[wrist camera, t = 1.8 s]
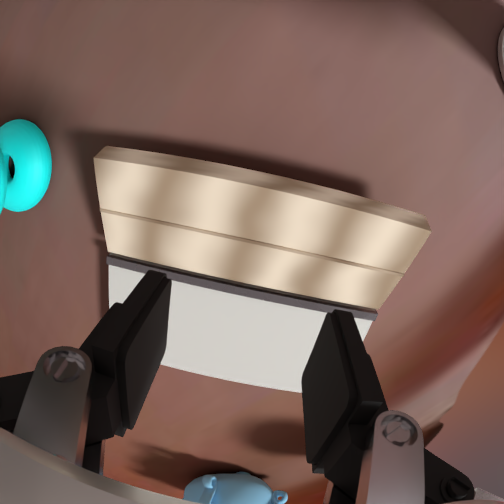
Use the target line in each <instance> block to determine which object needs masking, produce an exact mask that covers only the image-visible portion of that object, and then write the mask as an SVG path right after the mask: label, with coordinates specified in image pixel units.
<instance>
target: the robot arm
mask: <svg viewBox="0 0 504 504" xmlns="http://www.w3.org/2000/svg"><path fill="white" fill-rule="evenodd" d="M498 60H499V66H500V71H501V75H502V78H503V81H504V28H503V29H502V31H501V33H500V36H499V41H498ZM171 287H172V280H171V279H168V278H167V274H166V273H162V272H158V271H154V270H148V271H147V273H146V274H145V275H144V276H143V278H142V279H141V280H140V281H139V283H138V284H137V285H136V287H135V288H134V289H133V290H132V292H131V293H130V294H129V296H128V297H127V298H126V300H125V301H124V302H123V304H122V303H119V302H116V303H114V304H113V305H112V306H111V308H110V309H109V310H108V311H107V313H106V314H105V315H104V316H103V318H102V319H101V320H100V322H99V323H98V324H97V325H96V327H95V328H94V329H93V331H92V332H91V333H90V335H89V336H88V337H87V339H86V340H85V341H84V343H83V344H82V345H81V347H80V348H79V349H77V348H74V347H68V346H61V347H55V348H52V349H50V350H48V351H46V352H45V353H44V354H43V355H42V356H41V357H40V359H39V360H38V363H37V365H36V368H35V370H34V371H32V372H27V373H22V374H17V375H12V376H6V377H1V378H0V504H201V503H196V502H191V501H187V500H182V499H178V498H174V497H170V496H166V495H162V494H158V493H155V492H151V491H147V490H144V489H141V488H137V487H134V486H131V485H128V484H125V483H122V482H119V481H116V480H113V479H110V478H107V477H105V476H103V466H104V453H105V441H106V440H105V439H108V438H111V437H114V434H115V435H118V436H121V437H123V436H124V434H125V431H126V429H127V428H128V429H131V430H132V429H133V427H134V425H135V423H136V420H137V418H138V416H139V413H140V411H141V408H142V406H143V403H144V401H145V399H146V396H147V394H148V391H149V389H150V387H151V384H152V382H153V380H154V377H155V375H156V373H157V370H158V368H159V366H160V363H161V361H162V359H163V356H164V354H165V351H166V345H167V332H168V320H169V308H170V297H171ZM301 385H302V398H303V412H304V426H305V442H306V459H307V463H311V464H312V471H313V473H320V474H324V475H325V477H326V478H327V479H329V482H328V485H327V490H326V494H325V498H324V502H323V504H504V499H502V498H499V497H497V496H495V495H493V494H491V493H488V492H486V491H484V490H481V489H479V488H476V489H475V490H474V487H473V485H472V482H471V481H470V480H469V478H468V477H467V476H466V475H464V474H463V473H462V472H460V471H458V470H457V469H455V468H454V467H452V466H451V465H449V464H448V463H446V462H445V461H443V460H441V459H440V458H438V457H437V456H435V455H434V454H432V453H431V452H429V451H428V450H426V449H425V448H423V434H422V430H421V428H420V426H419V424H418V423H417V422H416V421H415V420H414V419H413V418H412V417H411V416H409V415H408V414H406V413H403V412H400V411H395V410H390V411H388V408H387V405H386V401H385V398H384V395H383V392H382V389H381V386H380V383H379V380H378V377H377V374H376V371H375V369H374V366H373V363H372V360H371V357H370V356H369V355H368V354H367V353H366V350H365V347H364V344H363V341H362V338H361V336H360V333H359V330H358V327H357V325H356V322H355V319H354V316H353V314H352V312H349V311H343V310H338V309H334V310H333V312H332V313H330V312H328V313H327V314H326V316H325V319H324V321H323V324H322V327H321V329H320V332H319V334H318V337H317V339H316V342H315V344H314V347H313V349H312V352H311V354H310V357H309V359H308V362H307V364H306V367H305V369H304V371H303V374H302V380H301Z"/></svg>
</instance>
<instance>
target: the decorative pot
mask: <svg viewBox="0 0 504 504" xmlns="http://www.w3.org/2000/svg"><path fill="white" fill-rule="evenodd" d="M279 496H282V497H283V498H282V499H281V500H278V499H277V498H278V497H279ZM287 499H288V496H287V493H286V492H284V491H281V490H276V491H274V492H273V491H272V489H271V488H270V487H269V486H268V485H267V484H266V483H265V482H264V481H263V480H261V479H260V478H257V477H255V476H251V475H250V474H249V473H247V472H237V473H236V474H211V475H203V476H201V477H198V478H196V479H194V480H193V481H192V482H190V483H189V484H188V485H187V486H186V488H185V492H184V498H183V499H182V500H187V501H191V502H196V503H201V504H283V503H285V502H286V501H287Z"/></svg>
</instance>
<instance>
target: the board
mask: <svg viewBox="0 0 504 504" xmlns="http://www.w3.org/2000/svg"><path fill="white" fill-rule="evenodd" d="M107 264H108V265H109V309H110V308H111V306H112V305H113V304H114V303H116V302H119V303H122V304H123V302H124V301H125V300H126V298H127V297H128V296H129V294H130V293H131V292H132V290H133V289H134V288H135V287H136V285H137V284H138V283H139V281H140V280H141V279H142V278H143V276H144V275H145V274H146V273H147V271H148V270H154V271H158V272H162V273H166V274H167V278H168V279H171V280H172V287H171V297H170V308H169V320H168V332H167V345H166V351H165V354H164V356H163V359H162V361H161V363H160V364H161V365H165V366H169V367H173V368H177V369H181V370H185V371H189V372H193V373H197V374H202V375H206V376H211V377H215V378H220V379H225V380H230V381H235V382H240V383H245V384H250V385H256V386H262V387H267V388H274V389H280V390H286V391H293V392H300V393H302V385H301V380H302V374H303V371H304V369H305V367H306V364H307V362H308V359H309V357H310V354H311V352H312V349H313V347H314V344H315V342H316V339H317V337H318V334H319V332H320V329H321V327H322V324H323V321H324V319H325V316H326V314H327V313H328V312H330V313H332V312H333V310H334V309H338V310H343V311H349V312H352V314H353V316H354V319H355V322H356V325H357V327H358V330H359V333H360V336H361V338H362V341H363V340H364V338H365V336H366V334H367V332H368V330H369V327H370V325H371V323H372V321H375V320H376V317H377V315H378V313H377V311H376V309H374V308H368V307H363V306H358V305H352V304H347V303H342V302H336V301H331V300H326V299H321V298H316V297H311V296H306V295H301V294H296V293H291V292H286V291H281V290H276V289H271V288H266V287H261V286H257V285H252V284H247V283H242V282H238V281H233V280H229V279H224V278H219V277H215V276H210V275H206V274H201V273H197V272H192V271H188V270H184V269H179V268H175V267H170V266H166V265H162V264H158V263H153V262H149V261H145V260H141V259H136V258H132V257H128V256H124V255H120V254H116V253H112V252H111V253H110V254H109V255H108V256H107Z"/></svg>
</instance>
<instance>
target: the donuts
mask: <svg viewBox="0 0 504 504" xmlns="http://www.w3.org/2000/svg"><path fill="white" fill-rule="evenodd" d="M10 156H11V158H12V159H13V161H14V165H15V174H14V178H12V176H11V174H10V171H9V157H10ZM51 171H52V158H51V152H50V147H49V144H48V142H47V139H46V137H45V135H44V134H43V132H42V131H41V130H40V129H39V128H38V127H37V126H36V125H35V124H34V123H32V122H30V121H27V120H24V119H16V120H12V121H9V122H7V123H5V124H4V125H3V126H1V127H0V214H1V211H2V209H3V207H4V208H6V209H8V210H11V211H15V212H21V211H26V210H28V209H30V208H32V207H34V206H35V205H36V204H37V203H38V202H39V201H40V200H41V199H42V197H43V196H44V194H45V192H46V190H47V188H48V185H49V182H50V178H51Z"/></svg>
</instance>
